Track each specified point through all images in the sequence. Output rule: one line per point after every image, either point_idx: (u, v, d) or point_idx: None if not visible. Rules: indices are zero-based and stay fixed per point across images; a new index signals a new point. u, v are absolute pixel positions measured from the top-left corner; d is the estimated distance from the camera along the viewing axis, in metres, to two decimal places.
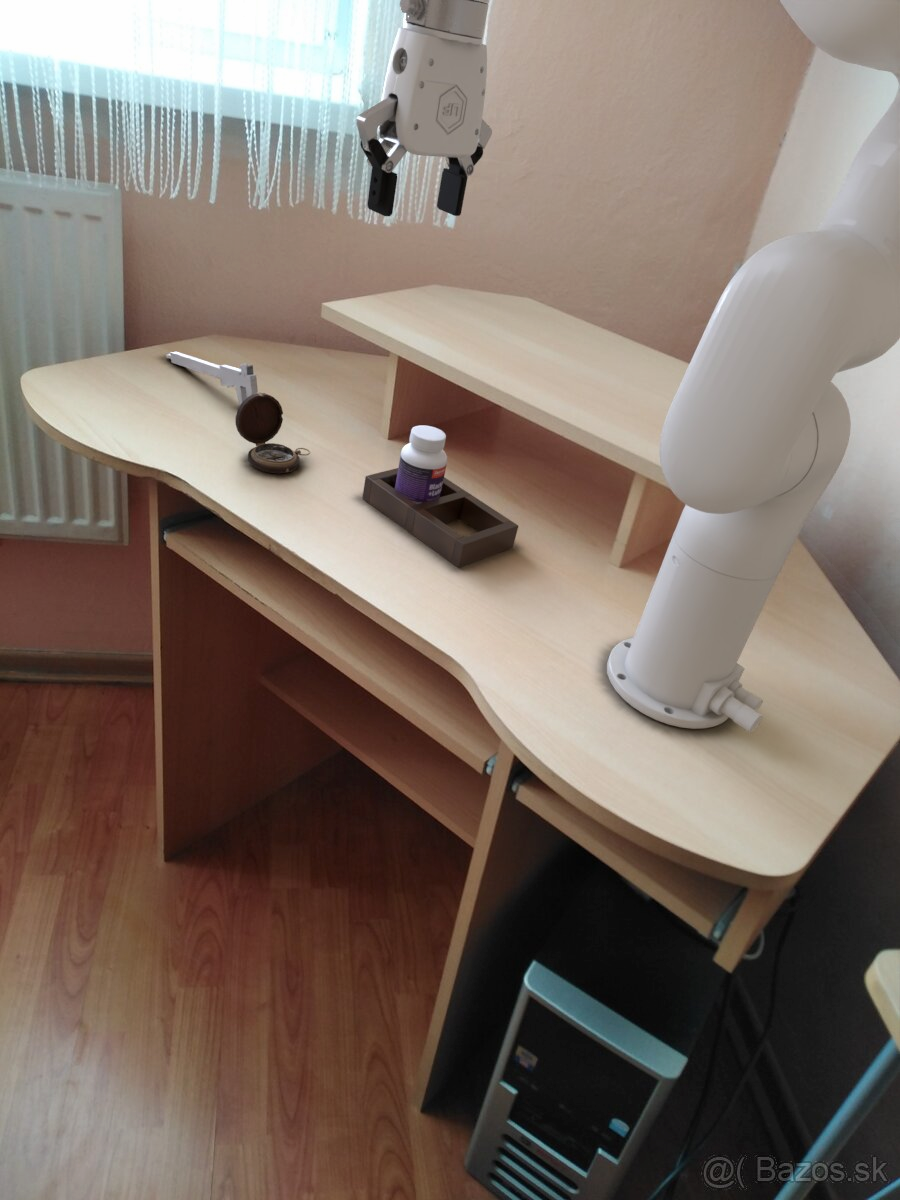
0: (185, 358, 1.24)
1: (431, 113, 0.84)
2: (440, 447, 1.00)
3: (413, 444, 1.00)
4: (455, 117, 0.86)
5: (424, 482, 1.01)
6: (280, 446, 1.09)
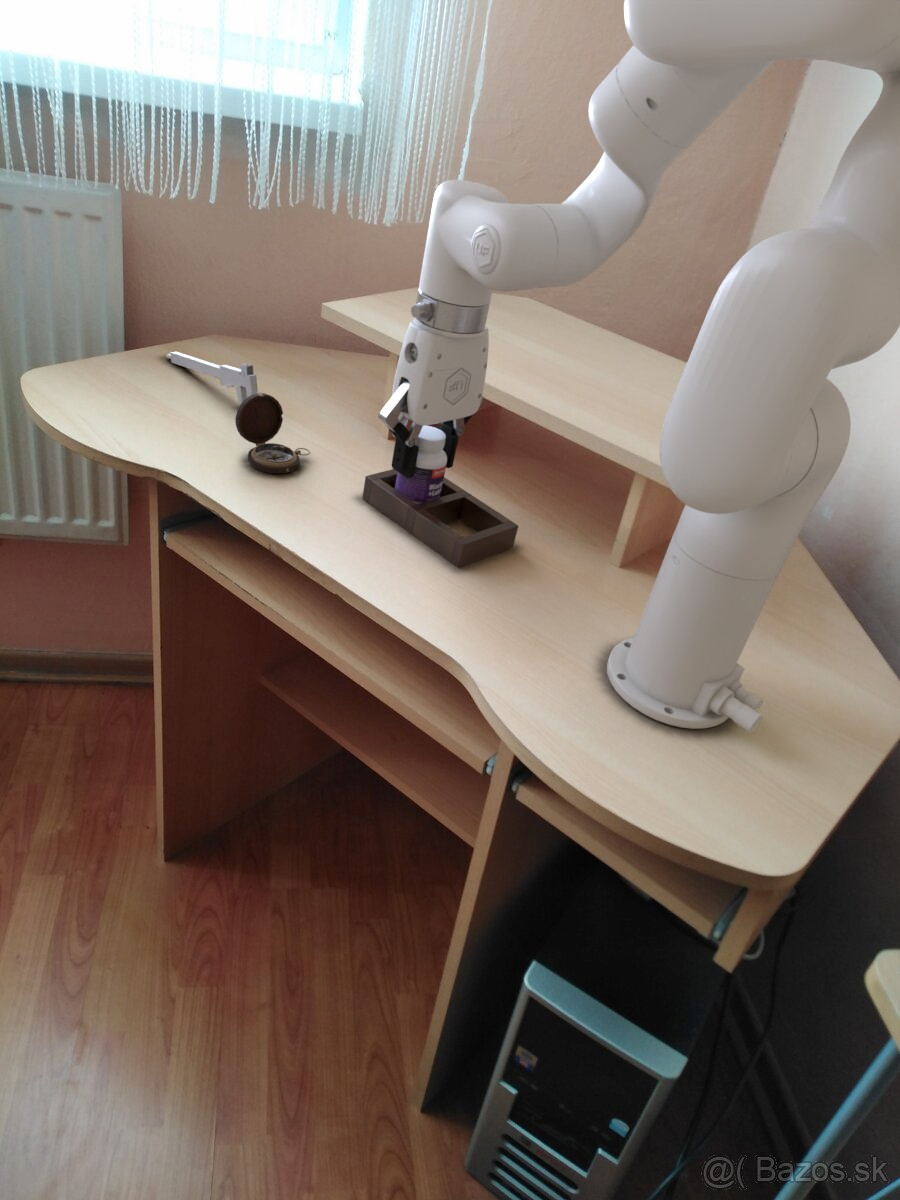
0: (185, 358, 1.24)
1: (439, 393, 0.94)
2: (440, 447, 1.00)
3: None
4: (460, 390, 0.96)
5: (424, 482, 1.01)
6: (280, 446, 1.09)
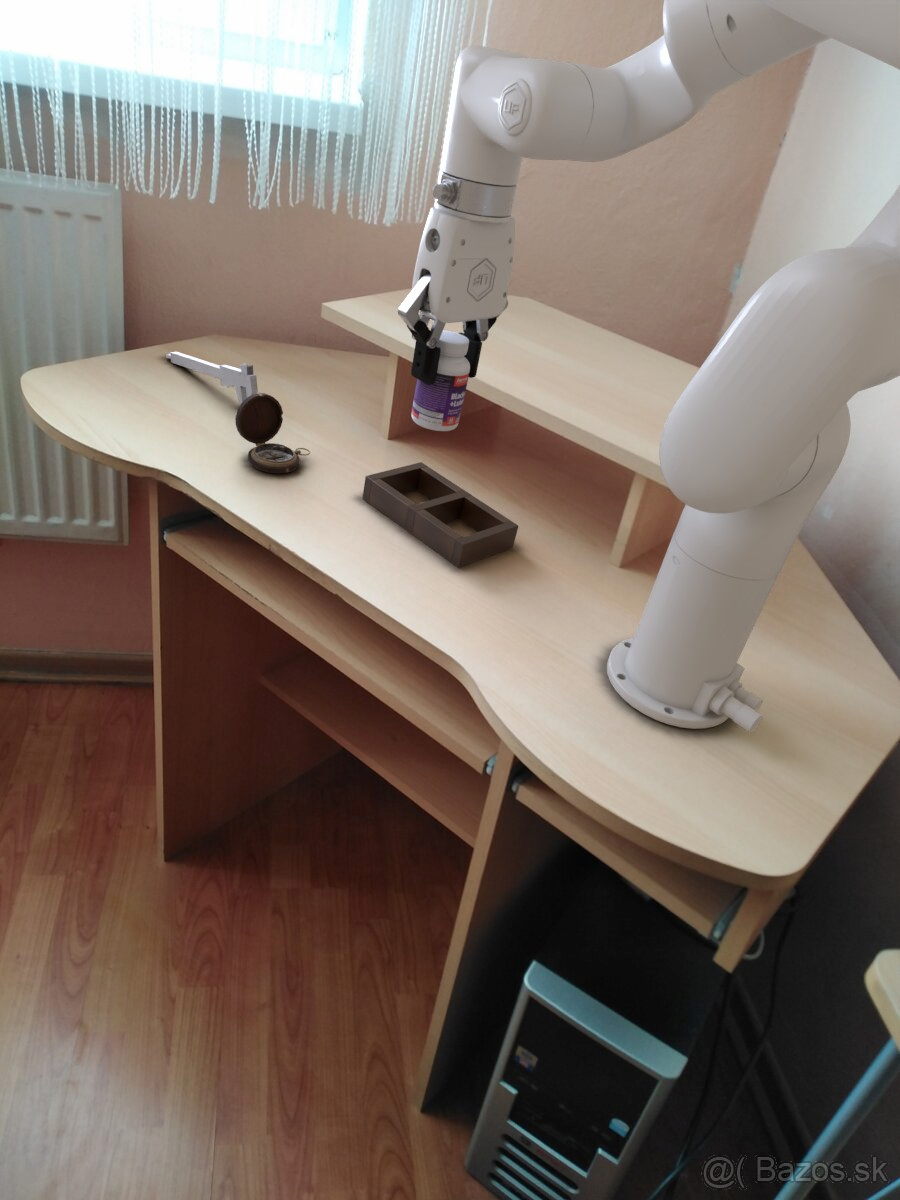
0: (185, 358, 1.24)
1: (462, 286, 0.87)
2: (463, 352, 0.93)
3: None
4: (485, 285, 0.89)
5: (445, 390, 0.94)
6: (280, 446, 1.09)
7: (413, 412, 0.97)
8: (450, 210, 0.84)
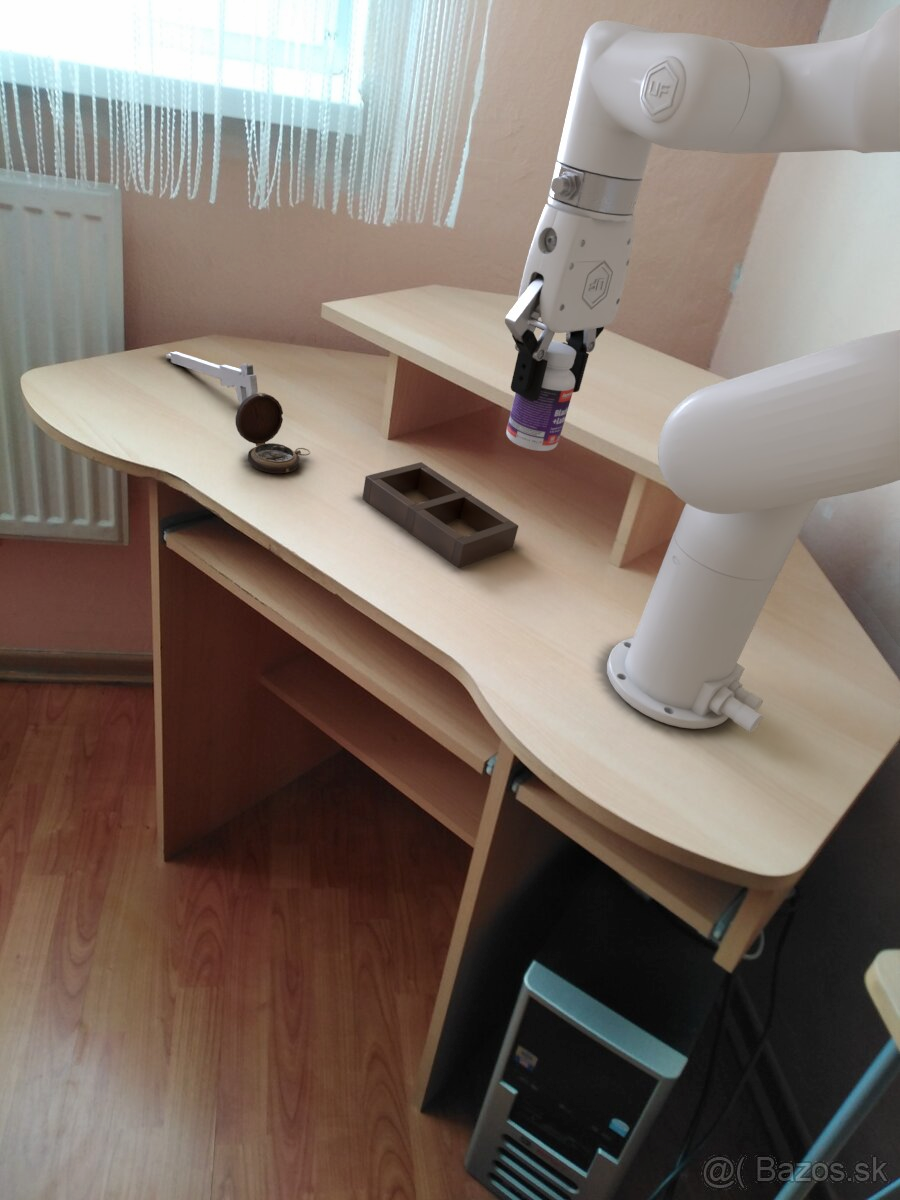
0: (185, 358, 1.24)
1: (578, 292, 0.78)
2: (570, 364, 0.84)
3: None
4: (599, 291, 0.80)
5: (549, 406, 0.85)
6: (280, 446, 1.09)
7: (509, 430, 0.88)
8: (569, 207, 0.75)
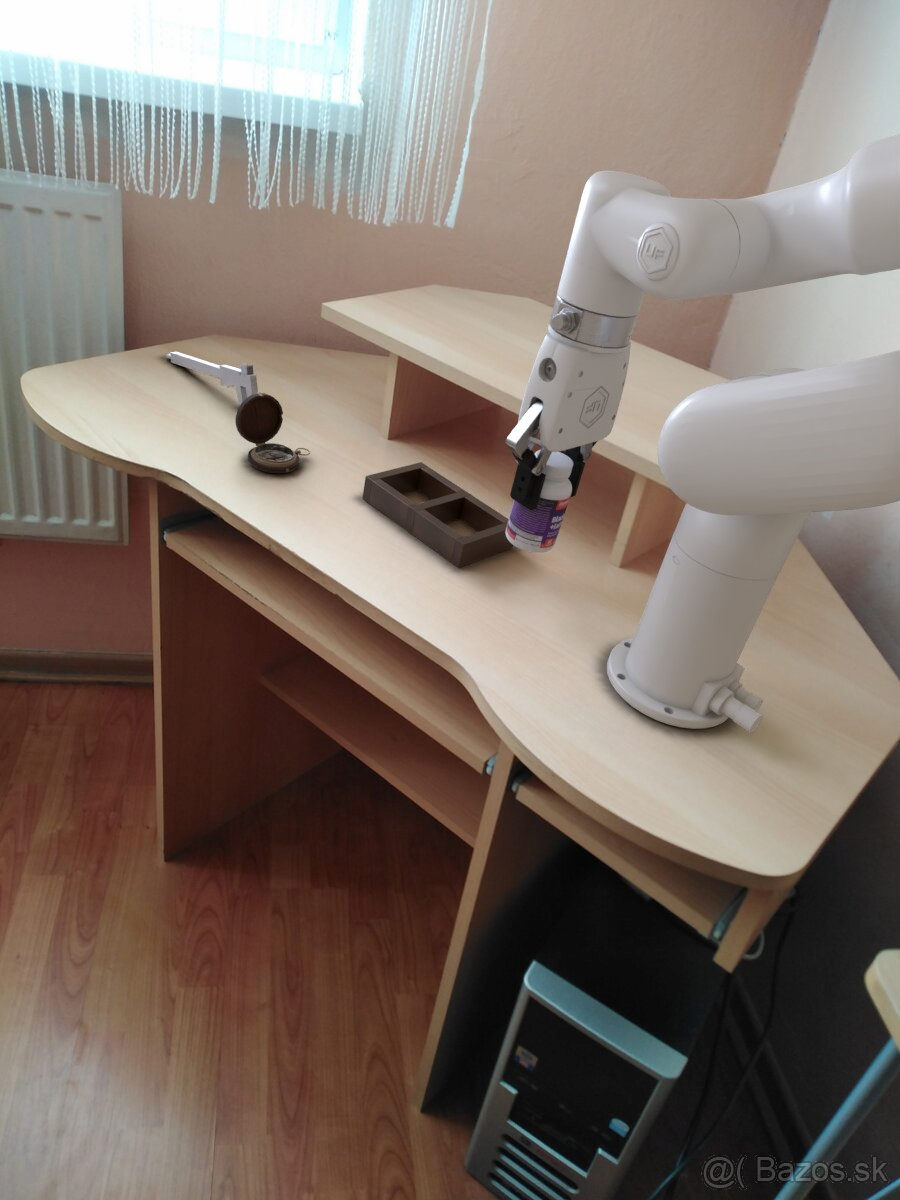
0: (185, 358, 1.24)
1: (575, 416, 0.82)
2: (567, 475, 0.88)
3: None
4: (596, 412, 0.84)
5: (547, 514, 0.89)
6: (280, 446, 1.09)
7: (509, 532, 0.92)
8: (568, 340, 0.79)
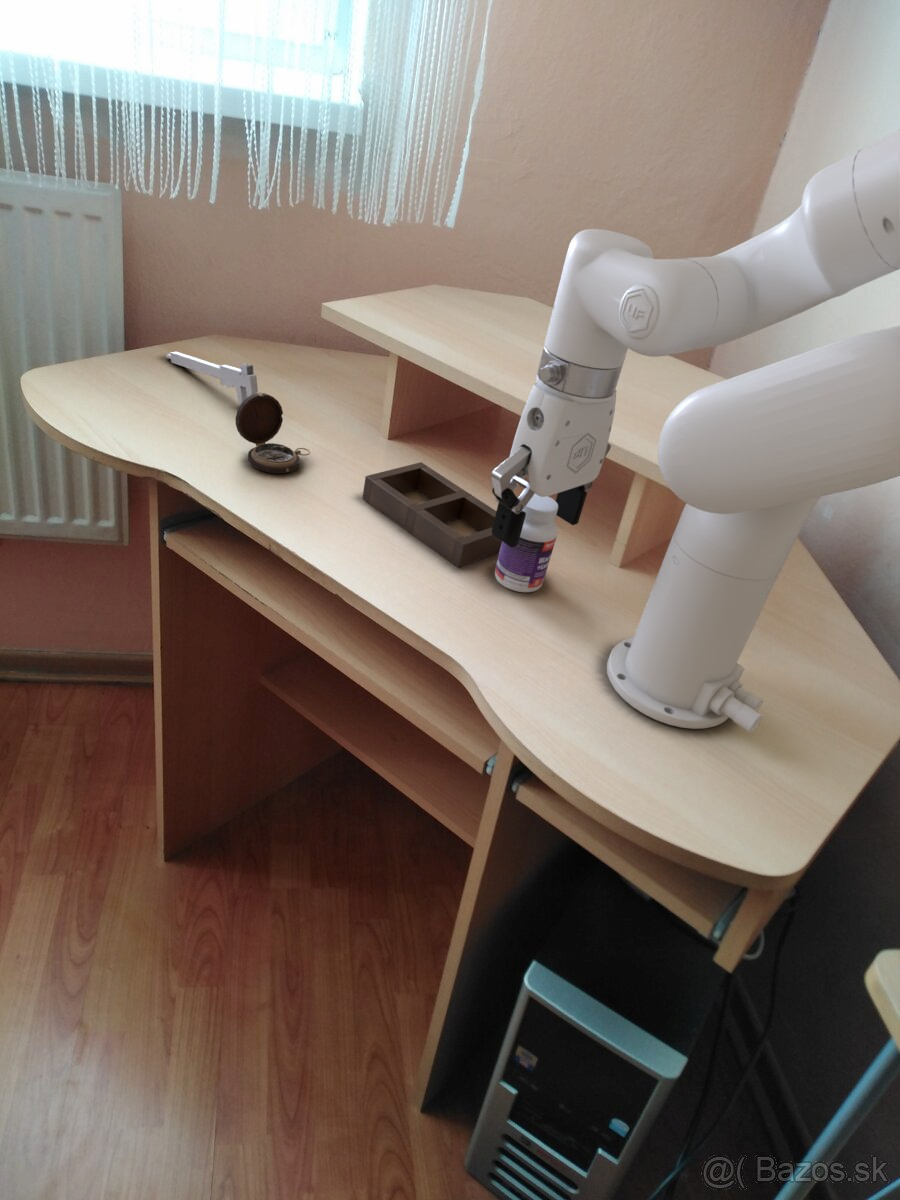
0: (185, 358, 1.24)
1: (563, 462, 0.84)
2: (552, 518, 0.91)
3: None
4: (583, 457, 0.87)
5: (533, 555, 0.92)
6: (280, 446, 1.09)
7: (497, 572, 0.95)
8: (555, 391, 0.81)
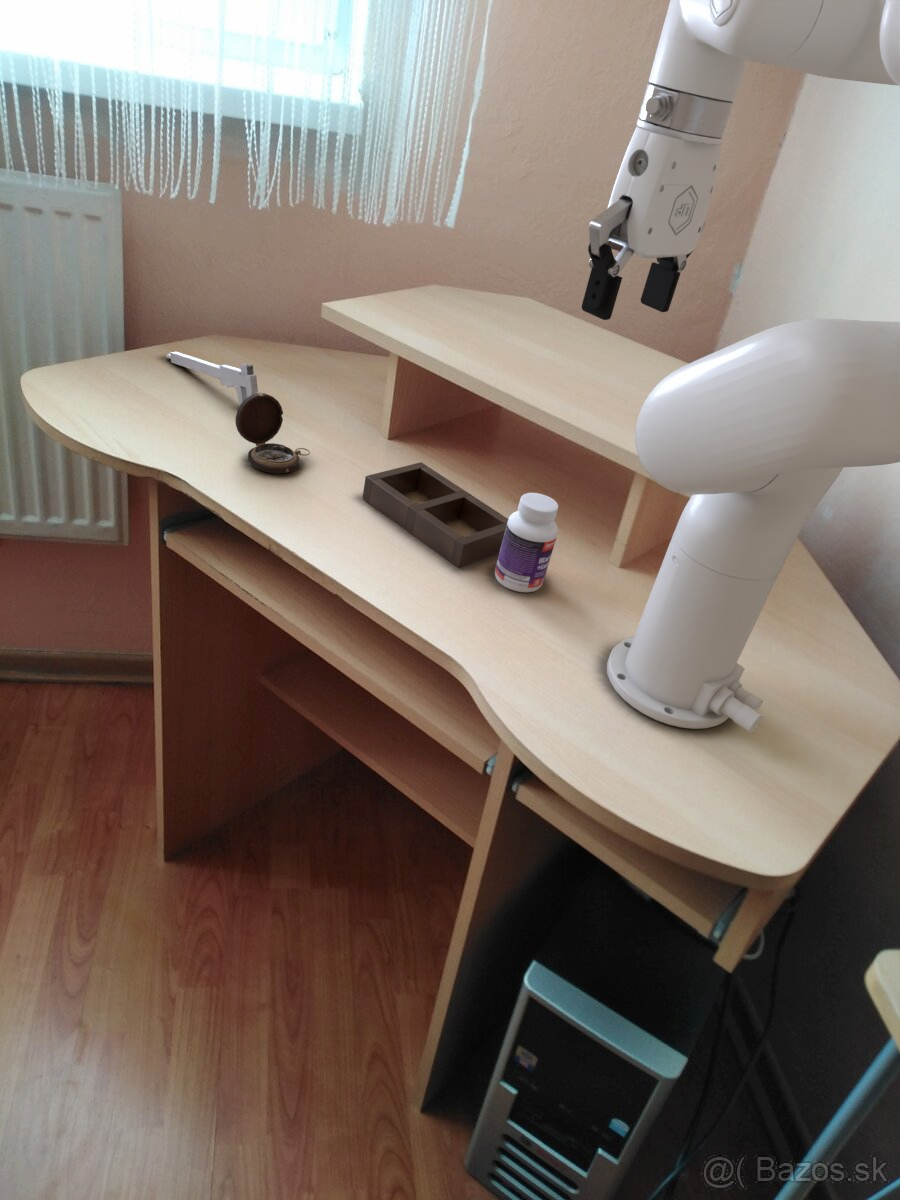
0: (185, 358, 1.24)
1: (665, 216, 0.79)
2: (553, 518, 0.91)
3: (523, 515, 0.91)
4: (684, 217, 0.81)
5: (533, 555, 0.92)
6: (280, 446, 1.09)
7: (497, 572, 0.95)
8: (661, 128, 0.75)
